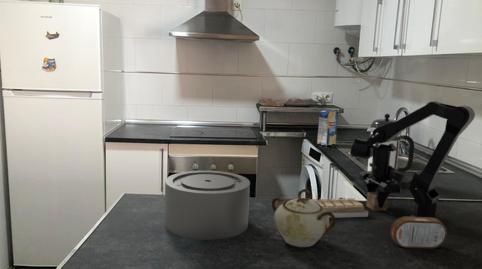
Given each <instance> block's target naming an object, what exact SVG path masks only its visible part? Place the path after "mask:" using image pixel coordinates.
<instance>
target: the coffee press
mask: <svg viewBox="0 0 482 269" xmlns="http://www.w3.org/2000/svg"><path fill="white" fill-rule="evenodd" d="M390 117H391V114H389V113H385V114H384V118H377V119H374V120H373V121H372V123H371V124H370V125H369V127H368V129H367V130H366V131H367V132H370V134H369V138H370V137H371V136H372V134H373V130H374V129H375V128H376V127H379V126H382V125H385V124H389V123H392V122H395V121H396V120H394V119H390ZM401 140H405V141H408V144H409V149H408V156H407V157H408V158H407V164H406V166H404V167H398V159H399V150H400V143H401ZM392 143H393V144H394V146H395V147H396V148H397V150H396V151H391V153H390V163H389V165H390V166H392V167H393V168H395V171H396V172H398V173H405V172H407V171H409V170H410V169H411V168H412V166H413V162H414V154H415V143H414V140H413V138H412V137H411V136H408V135H405V134H403V135H401V133H400V134H399V135H398V136H397V137H395V138H394V139H393V140H391V141H389V142H385V143H378V144H374V145H375V146H379V145H380V144H385V145H389V144H392ZM372 159H373V156H372V157H370V158H369V159H367V160H368V162H367V171H371V169H372V167H371V166H369V165H370V163H372ZM389 182H396V183H398V182H397V181H395V180H392V181H389Z"/></svg>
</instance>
